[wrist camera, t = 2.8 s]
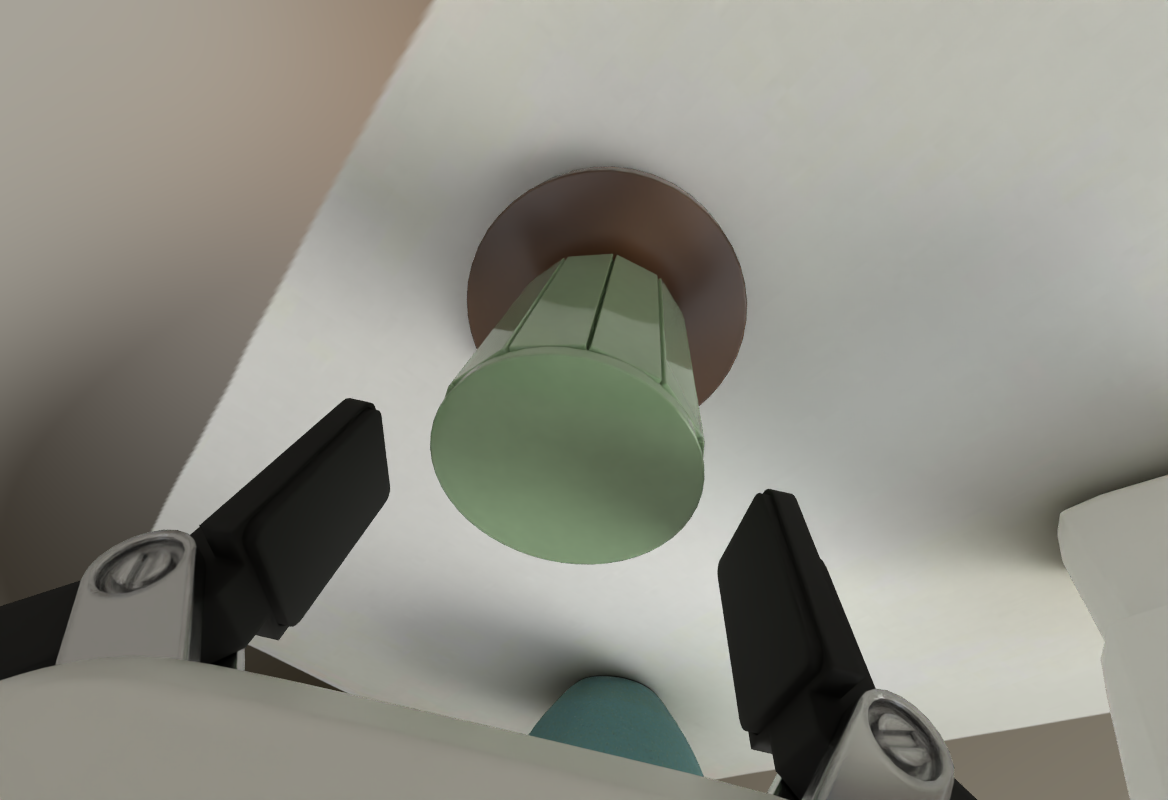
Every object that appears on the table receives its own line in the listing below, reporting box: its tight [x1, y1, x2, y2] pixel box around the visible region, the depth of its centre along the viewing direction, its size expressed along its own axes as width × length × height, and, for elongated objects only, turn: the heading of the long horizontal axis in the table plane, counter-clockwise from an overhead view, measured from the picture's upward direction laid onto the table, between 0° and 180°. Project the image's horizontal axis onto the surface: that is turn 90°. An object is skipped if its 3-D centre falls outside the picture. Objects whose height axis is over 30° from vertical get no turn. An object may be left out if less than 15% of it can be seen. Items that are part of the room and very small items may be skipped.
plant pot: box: [529, 676, 704, 777], centre depth 35 cm, size 18×18×12 cm
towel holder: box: [467, 167, 747, 406], centre depth 15 cm, size 12×12×10 cm
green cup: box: [430, 254, 705, 564], centre depth 14 cm, size 7×7×8 cm
